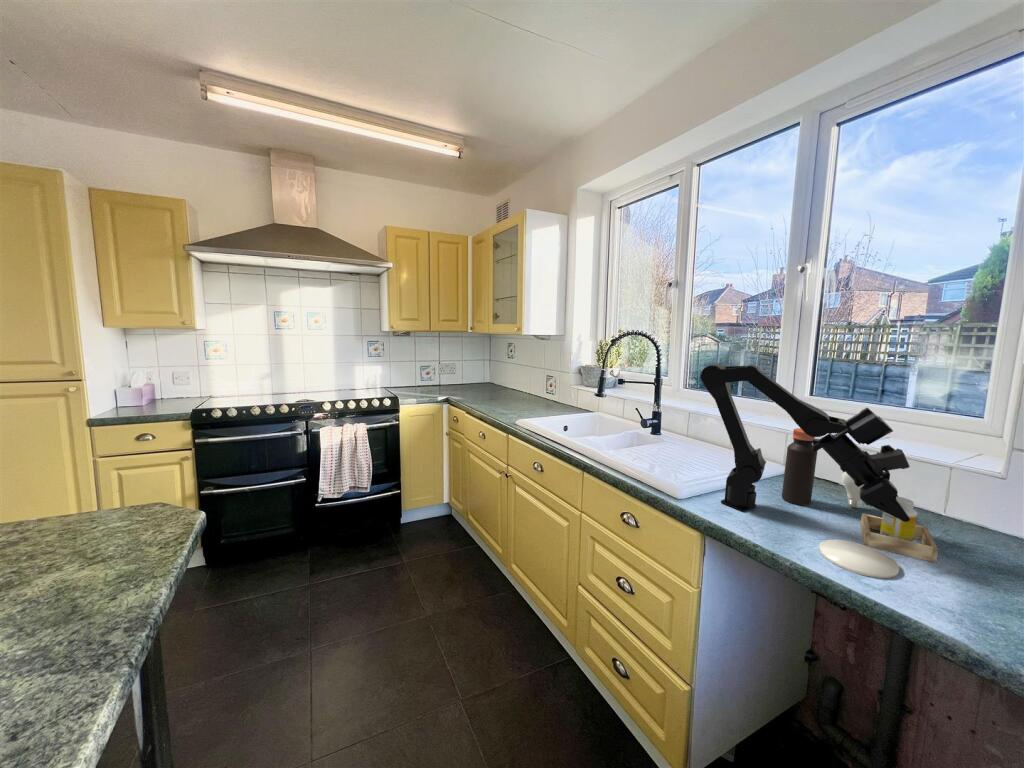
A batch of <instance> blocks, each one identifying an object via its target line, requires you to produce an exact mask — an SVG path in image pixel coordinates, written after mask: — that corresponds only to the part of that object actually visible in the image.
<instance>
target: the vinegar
mask: <svg viewBox="0 0 1024 768" xmlns="http://www.w3.org/2000/svg"><path fill="white" fill-rule="evenodd" d="M812 439H816V437H811V436H809V435H807V434H806V433H805V432H804V431H803V430H802V429H801V428H800V427H799V428H793V432H792V440H793V442H791V443H790V444H788V446H787V448H786V455H785V464H784V465H785V466H784V471H783V472H784V473H783V483H782V489H781V490H782V491H781V498H782V499H783V500H784V501H786V502H787V503H789V504H793V505H798V506H807V505H810V504H811V503H812V495H813V489H814V483H815V482H814V481H815V472H816V465H817V457H818V451H816V452H813V451H812V447H813V442H812Z"/></svg>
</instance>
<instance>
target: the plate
mask: <svg viewBox="0 0 1024 768" xmlns="http://www.w3.org/2000/svg"><path fill="white" fill-rule="evenodd" d="M818 551H819V553H820V554H822V555H823V556H824V557H825V560H827V561H828V560H829V561H828V562H830V563H831V562H832V564H833V563H834V565H835V566H838V567H839V568H840V569H844V570H846V571H848V572H851V573H855V574H857V575H861V576H865V577H869V576H870V578H875V577H878V578H877V579H890V578H894V577H897V576H898V575H899V572H900V566H899V564H898V563H897V561H896V560H895V559H894V558H892V557H891V556H889V555H888V554H886V553H884V552H882V551H880V550H878V549H877V548H876V549H875V548H874V547H871V546H867V545H864V544H861V543H858V542H854V541H850V540H844V539H827V540H823V541H821V542H820V544H819V547H818ZM822 555H821V556H822ZM823 556H822V557H823ZM824 557H823V558H824Z"/></svg>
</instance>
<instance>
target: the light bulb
mask: <svg viewBox="0 0 1024 768" xmlns="http://www.w3.org/2000/svg"><path fill="white" fill-rule="evenodd" d="M841 481H842V484H843V486H844V488H845V490H846V494H847V495H846V496H847V505H849V507H851V508H853V509H859V508H861V507H862V506H863V503H862V502H863V501H862V500H861V499H860V495H859V490H860V487H862V486H864V484H863V485H861V486H859V487H857V486H856V485H855V483H854V480H853V479H852V478H851V477H850V476H849V475H848V474H847V473H846V472H843V473H842V475H841Z"/></svg>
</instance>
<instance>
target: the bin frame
mask: <svg viewBox="0 0 1024 768" xmlns="http://www.w3.org/2000/svg"><path fill="white" fill-rule="evenodd" d="M860 519H861V520H860V530H861V535H862V541H863V545H865V546H868V547H871V548H874V549H875V548H876V549H880V550H883V551H888V552H892V553H895V554H900V555H904V556H908V557H911V558H915V559H920V560H923V561H927V562H931V563H935V564H936V563H937V560H938V559H937V558H938V553H939V548H938V546H937V544H936V542H935V540H934V538H933V535H932V534H931V532H930V530H929V528H928V527H927V526H923V525H918V524H916V525H915V531H914V537H913V540H914V539H916V540H919V541H921V543H919V542H914V541H913V542H911V541H907V540H902V539H898V538H894V537H889V536H885V535H881V534H880V533H877V532H876V533H875V532H873V531H872V532H871V530H874V531H875V530H876V531H880V530H881V523H882V517H880V516H875V515H872V514H867V513H861V518H860Z"/></svg>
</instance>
